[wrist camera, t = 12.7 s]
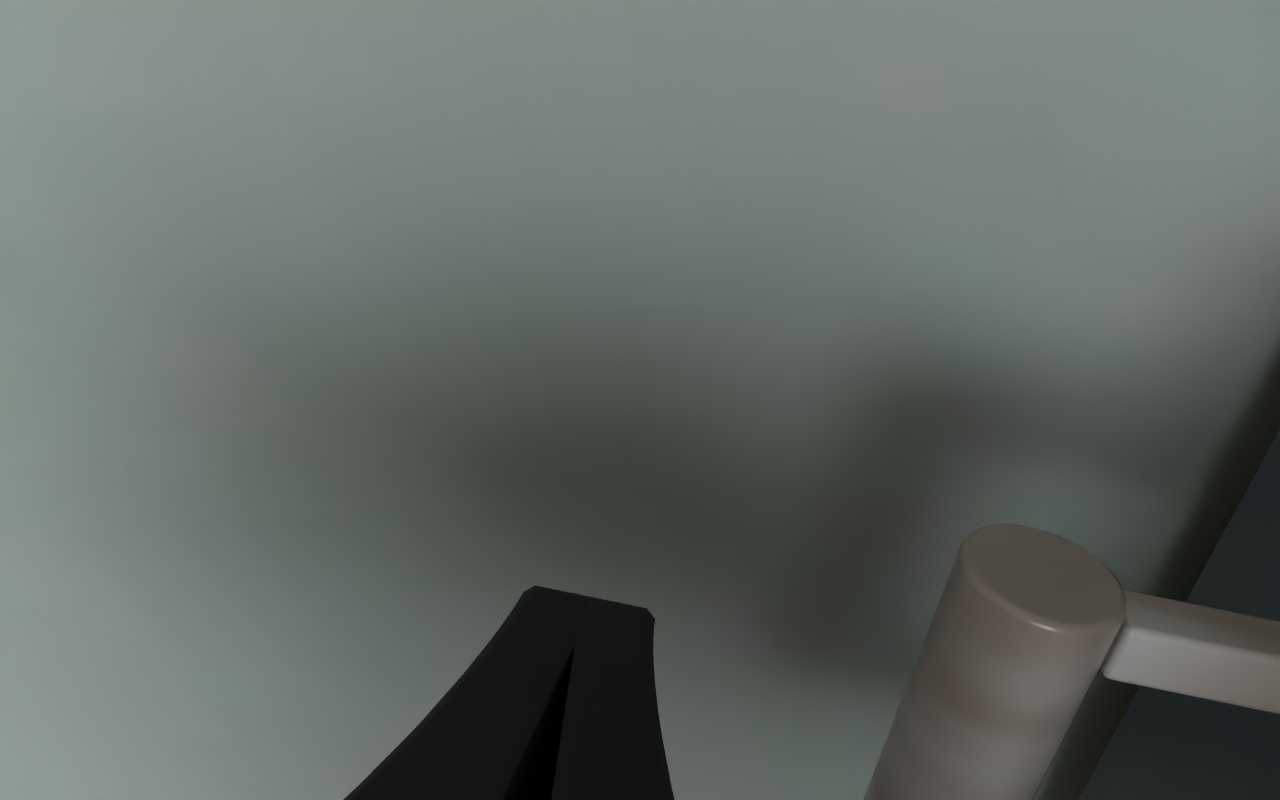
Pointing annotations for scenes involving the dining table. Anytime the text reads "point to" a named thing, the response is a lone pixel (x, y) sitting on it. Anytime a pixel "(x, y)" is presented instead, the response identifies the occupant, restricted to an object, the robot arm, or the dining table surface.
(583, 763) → the robot arm
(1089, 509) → the dining table surface
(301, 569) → the dining table surface
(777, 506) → the dining table surface
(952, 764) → the drawer
